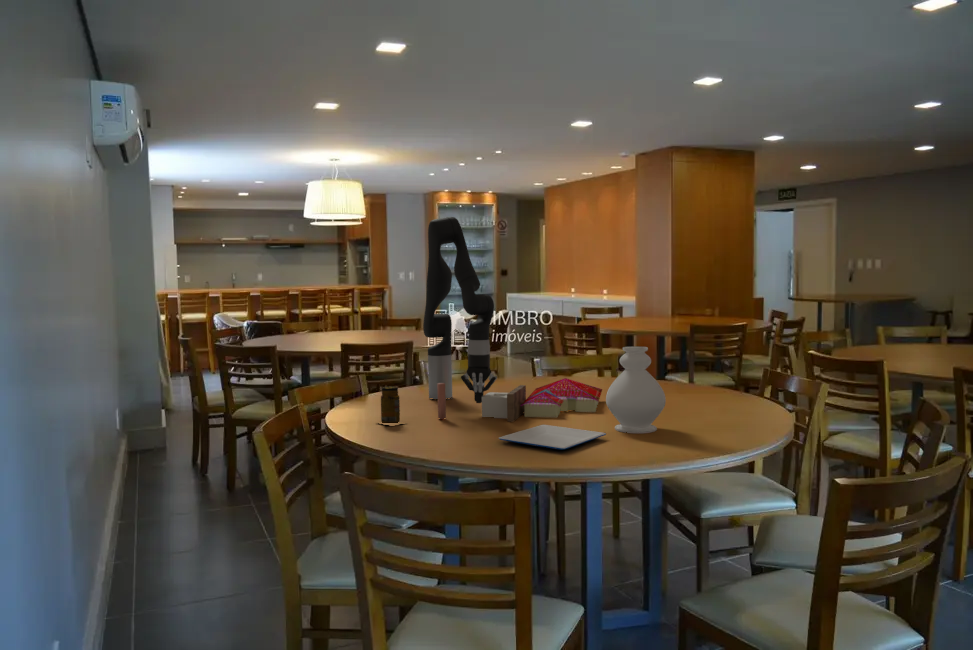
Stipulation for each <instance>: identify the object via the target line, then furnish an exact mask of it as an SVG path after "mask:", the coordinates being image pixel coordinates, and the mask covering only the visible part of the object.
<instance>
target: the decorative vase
mask: <svg viewBox="0 0 973 650" xmlns="http://www.w3.org/2000/svg"><path fill="white" fill-rule="evenodd" d="M622 351H623V352H625V353H624V354H622V355H621V357H620V358H619V364H620V366H622V368H623V369H624V370H623V371H622V372H621V373H620V374H619V375H618V376H617V377H616V378H615V379H614V380H613V381H612V383H611V384H610V386H609V388H608V389H607V393H606V396H605V402H606V406H607V408H608V409H609V411H610V413H611V414H612V415H613V417H614V418H615V419H616V420H617V421H618V422H619V424H616V425H615V426H614V430H615V431H617V432H619V433H620V432H621V433H626V432H627V433H626V434H650V433H654V432H656V431H657V430H658V429H657V426H656V425H653V422H654V421H655V420H656V419H657V418H658V417H659V415H660V414H661V413H662V411H663V410H664V408H665V406H666V399H667V398H666V395H665V391H664V389H663V388H662V386H661V385H660V384H659V383H660V382H659V381H657V379H655V377H654V376H652V374H651V373H650V372H649V371H648V370H647V369H648V368H649V367H650V365H651V363H652V358H651V357H650V355H648V354H647V353H646V352H648V351H649V348H648V347H647V346H623V347H622Z"/></svg>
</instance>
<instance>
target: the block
mask: <svg viewBox="0 0 973 650" xmlns="http://www.w3.org/2000/svg"><path fill="white" fill-rule="evenodd" d="M508 393H509V392H497V391H496V392H493V391H491V392H487V393H486V394H483V396H482V403H481V418H482V417H494V418H493V419H507V394H508Z"/></svg>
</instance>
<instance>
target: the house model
mask: <svg viewBox="0 0 973 650" xmlns="http://www.w3.org/2000/svg"><path fill="white" fill-rule="evenodd" d="M602 392H603V389H602V388H599V387H596V386H592V385H589V384H586V383H583V382H579V381H578V380H573V379H569V378H567V377H564V378H562V379H559V380H556V381H553V382H551V383H548V384H545V385H541V386H539V387H536V388H535V389H534V390H533V391H532V393H530V395H529V396H528V397H526V400H525V401H524V402H523V403H522V405H521V406H523V405H524V408H525V412H524V417H525V418H558V416H559V415H560V413H561V412H560V411H568V410H575V411H574V412H577V413H596V412H597V409H596V408H598V406H597V405H599V402H600V399H601V395H602ZM568 412H569V411H568Z"/></svg>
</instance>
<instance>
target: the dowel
mask: <svg viewBox="0 0 973 650" xmlns="http://www.w3.org/2000/svg"><path fill="white" fill-rule="evenodd" d="M437 389H438V400H437V416H438V417H437V419H438V418H440V419H444V418H446V419H447V411H446V410H447V409H446V408H447V407H446V405H447V404H446V403H447V401H446V398H445V383H438V384H437Z"/></svg>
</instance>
